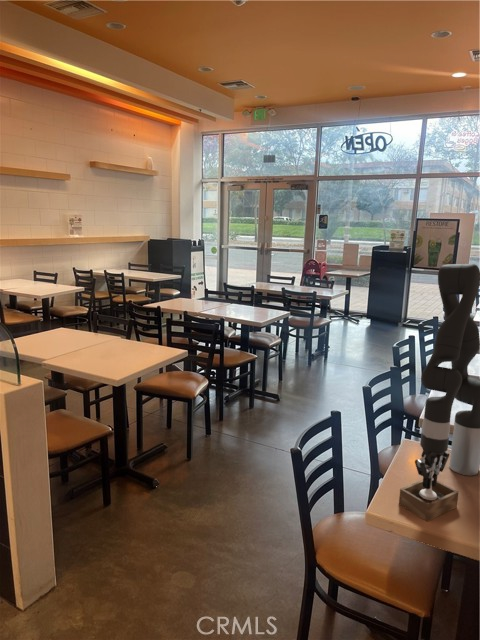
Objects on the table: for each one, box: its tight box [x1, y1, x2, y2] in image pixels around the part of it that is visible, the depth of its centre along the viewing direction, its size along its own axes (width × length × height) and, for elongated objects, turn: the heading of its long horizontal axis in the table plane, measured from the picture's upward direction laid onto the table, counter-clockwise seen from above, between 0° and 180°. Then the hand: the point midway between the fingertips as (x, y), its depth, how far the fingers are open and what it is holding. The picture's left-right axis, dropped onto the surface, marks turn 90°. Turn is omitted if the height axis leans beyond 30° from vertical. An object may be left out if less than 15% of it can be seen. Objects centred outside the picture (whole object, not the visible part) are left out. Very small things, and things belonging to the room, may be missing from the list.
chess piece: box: [419, 470, 437, 501], centre depth 138 cm, size 5×5×10 cm
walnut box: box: [398, 479, 459, 522], centre depth 139 cm, size 14×10×5 cm
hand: (429, 486), depth 138 cm, fingers closed on chess piece
